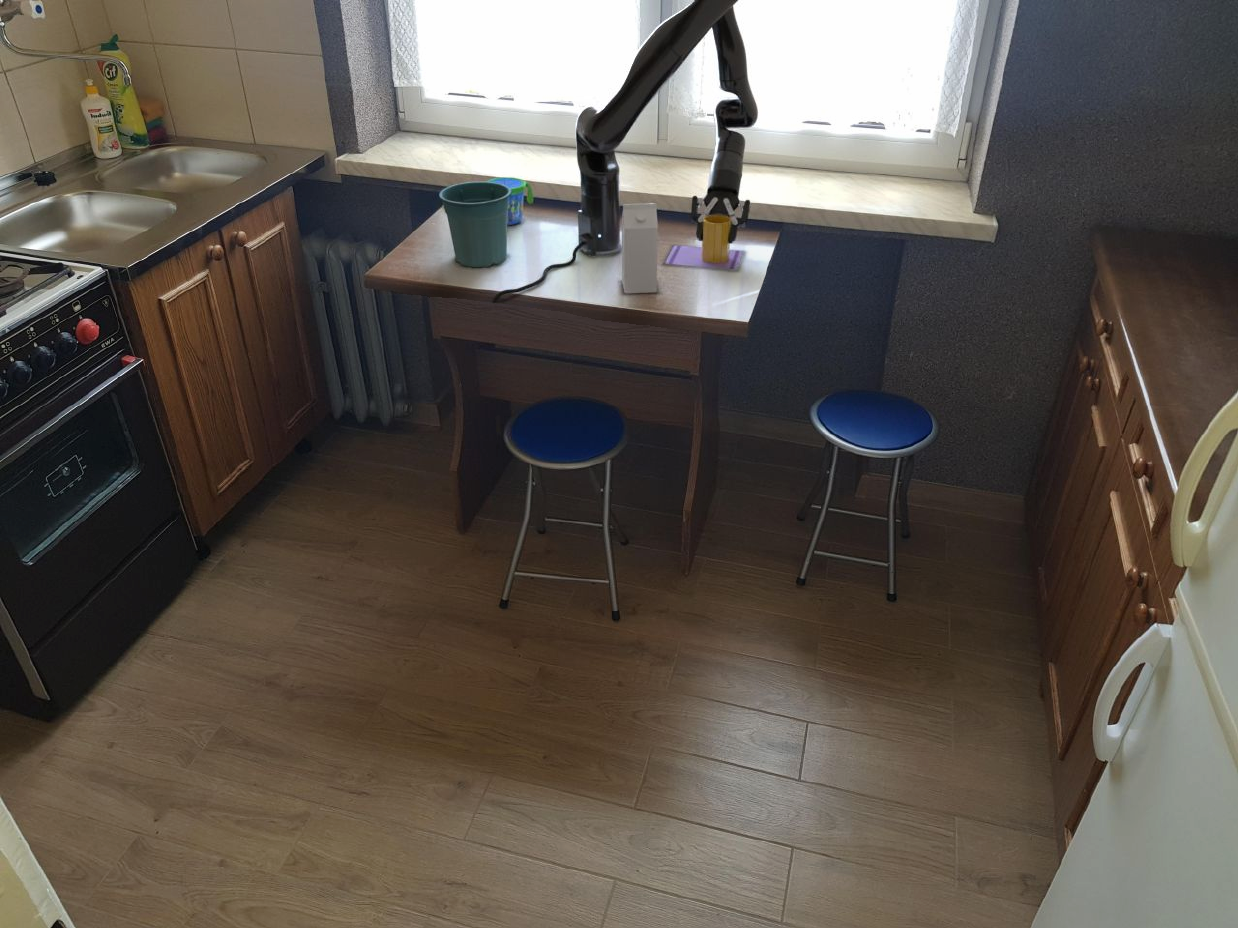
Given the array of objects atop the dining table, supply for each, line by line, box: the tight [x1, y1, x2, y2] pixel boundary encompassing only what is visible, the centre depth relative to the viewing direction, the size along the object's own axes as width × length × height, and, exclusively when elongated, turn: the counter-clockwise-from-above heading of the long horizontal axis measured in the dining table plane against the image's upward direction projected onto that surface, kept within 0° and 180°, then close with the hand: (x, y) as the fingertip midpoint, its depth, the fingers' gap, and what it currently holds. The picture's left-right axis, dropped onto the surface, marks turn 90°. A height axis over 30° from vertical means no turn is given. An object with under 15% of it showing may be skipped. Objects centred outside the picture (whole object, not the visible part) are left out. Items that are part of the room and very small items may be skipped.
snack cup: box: [485, 176, 534, 227], centre depth 246 cm, size 16×10×10 cm
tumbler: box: [701, 215, 732, 263], centre depth 224 cm, size 6×6×10 cm
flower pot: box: [438, 181, 511, 268], centre depth 224 cm, size 16×16×16 cm
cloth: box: [664, 244, 744, 271], centre depth 228 cm, size 17×12×1 cm
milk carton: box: [621, 202, 659, 294], centre depth 208 cm, size 7×7×19 cm
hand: (715, 240), depth 223 cm, fingers closed on tumbler, 6 cm apart
